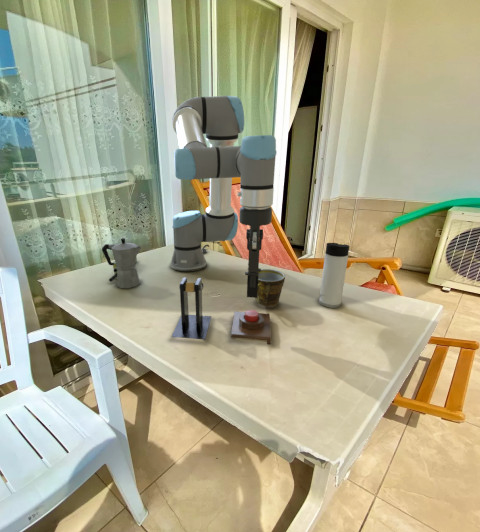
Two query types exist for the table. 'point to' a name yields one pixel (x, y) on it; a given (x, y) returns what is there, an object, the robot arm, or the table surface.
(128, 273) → the coffeepot
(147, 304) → the table surface
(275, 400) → the table surface
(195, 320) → the switch bracket
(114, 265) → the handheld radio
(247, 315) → the button
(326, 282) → the travel mug
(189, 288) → the switch lever
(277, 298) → the ceramic cup
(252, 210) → the robot arm
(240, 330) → the button block
